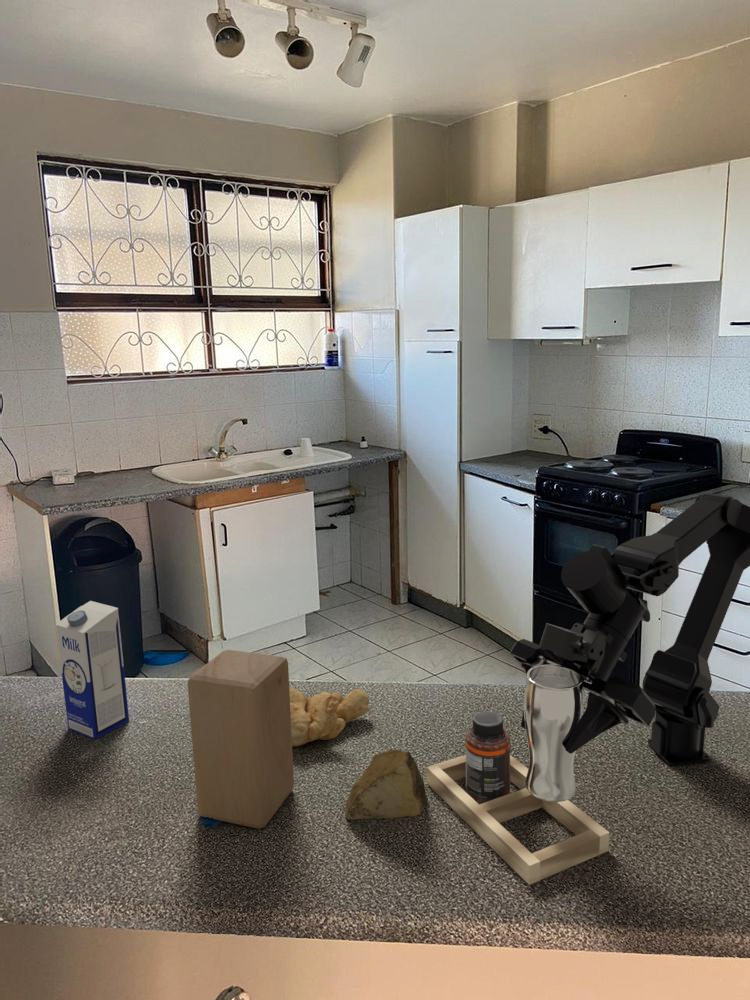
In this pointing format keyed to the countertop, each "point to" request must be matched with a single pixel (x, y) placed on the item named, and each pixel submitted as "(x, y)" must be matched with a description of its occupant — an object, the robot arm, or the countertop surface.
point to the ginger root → (323, 714)
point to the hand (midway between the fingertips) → (545, 739)
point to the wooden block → (241, 737)
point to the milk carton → (93, 669)
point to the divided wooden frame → (512, 805)
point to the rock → (388, 788)
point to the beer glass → (551, 729)
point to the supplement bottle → (487, 758)
